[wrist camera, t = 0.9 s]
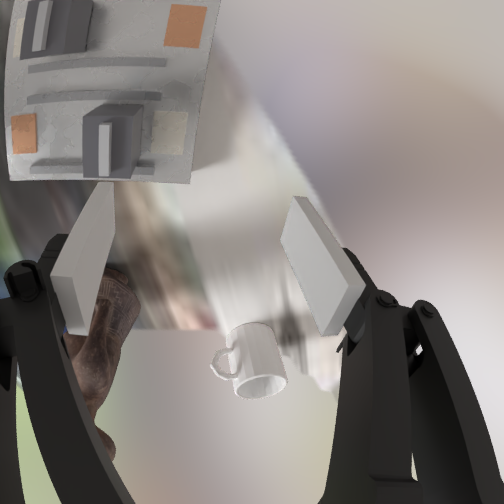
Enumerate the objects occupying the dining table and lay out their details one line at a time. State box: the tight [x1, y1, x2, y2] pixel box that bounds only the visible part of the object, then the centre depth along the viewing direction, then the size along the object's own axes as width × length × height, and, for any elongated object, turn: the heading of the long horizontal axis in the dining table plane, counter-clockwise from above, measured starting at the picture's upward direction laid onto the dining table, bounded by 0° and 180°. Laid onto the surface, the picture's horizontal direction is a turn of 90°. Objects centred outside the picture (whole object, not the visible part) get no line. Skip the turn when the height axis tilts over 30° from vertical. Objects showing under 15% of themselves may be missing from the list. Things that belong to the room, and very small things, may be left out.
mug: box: [210, 323, 288, 399], centre depth 45 cm, size 8×12×10 cm
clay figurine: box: [63, 267, 141, 461], centre depth 28 cm, size 13×10×25 cm
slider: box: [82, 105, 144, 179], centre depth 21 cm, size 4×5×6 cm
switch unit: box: [4, 0, 221, 184], centre depth 21 cm, size 20×20×4 cm
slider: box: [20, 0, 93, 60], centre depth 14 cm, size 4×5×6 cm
